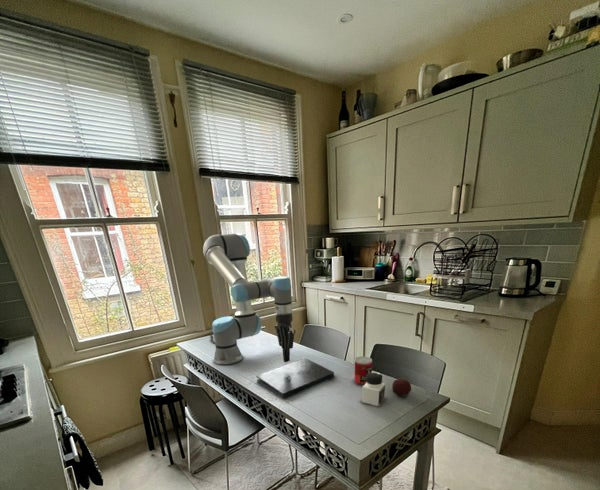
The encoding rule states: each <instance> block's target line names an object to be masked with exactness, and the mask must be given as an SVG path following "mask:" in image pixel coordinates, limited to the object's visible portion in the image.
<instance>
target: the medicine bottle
mask: <svg viewBox="0 0 600 490" xmlns="http://www.w3.org/2000/svg"><path fill="white" fill-rule="evenodd" d="M361 389H362V390H361V402H362V403H363V404H368V405H371V406H375V407H379V406H380V405H381V404H382V402H383V401H384V399H385V393H386V383H384V382H383V375H382V373H380V372H378V371H372V372H370V373H368V374H367V379H366V384H365V385H362V388H361Z"/></svg>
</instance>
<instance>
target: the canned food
mask: <svg viewBox="0 0 600 490" xmlns="http://www.w3.org/2000/svg"><path fill="white" fill-rule="evenodd" d="M370 372H373V359H372V358H371V357H369V356H357V357H356V358H354V374H353V375H354V377H353V380H354V383H355V384H357V385H359V386H364V385H365V384H366V379H367V374H368V373H370Z"/></svg>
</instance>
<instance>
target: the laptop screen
mask: <svg viewBox="0 0 600 490" xmlns="http://www.w3.org/2000/svg"><path fill="white" fill-rule="evenodd" d="M332 374H334V375H335V372H334V371H333V370H331V369H328V368H326V367H324V366H323V365H320V364H318V363H317V362H315V361H312V360H311V359H308V358H306V357H304V358H301V359H298V360H296V361H294V362H291V363H288V364H285V365H281V366H279V367H277V368H273V369H271V370H268V371H266V372H262V373H260V374H257V375H256V376H255V377H256V378H257V379H260V380H262V381H263V382H265V383H266V384H268V385H269V386H270V387H272V388H273V389H275V390H276V391H278V392H279V393H281V394H282V395H285V394H287V393H290V392H292V391H294V390H297V389H299V388H301V387H304V386H306V385H308V384H311V383H313V382H316V381H318V380H320V379H323V378H325V377H327V376H330V375H332Z"/></svg>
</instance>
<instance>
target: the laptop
mask: <svg viewBox="0 0 600 490" xmlns="http://www.w3.org/2000/svg"><path fill="white" fill-rule="evenodd" d="M333 378H335V373H334V374H332V375H330V376H327V377H325V378H323V379H320V380H318V381H316V382H313V383H311V384H308V385H306V386H304V387H301V388H299V389H297V390H294V391H292V392H290V393H287V394H285V395H282V394H281V393H279V392H278V391H276V390H275V389H273V388H272V387H270V386H269V385H268V384H266V383H265V382H263V381H262V380H260V379H259V378H257V379H256V384H258V385H260V386H261V387H263V388H264V389H266V390H268V391H270V392H271V393H273V394H274V395H275V396H278V397H279V398H281V399H283V400H286V399H287V398H289V397H292V396H294V395H297V394H299V393H301V392H304V391H306V390H309V389H310V388H312V387H315V386H317V385H320V384H322V383H324V382H327V381H329V380H331V379H333Z"/></svg>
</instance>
